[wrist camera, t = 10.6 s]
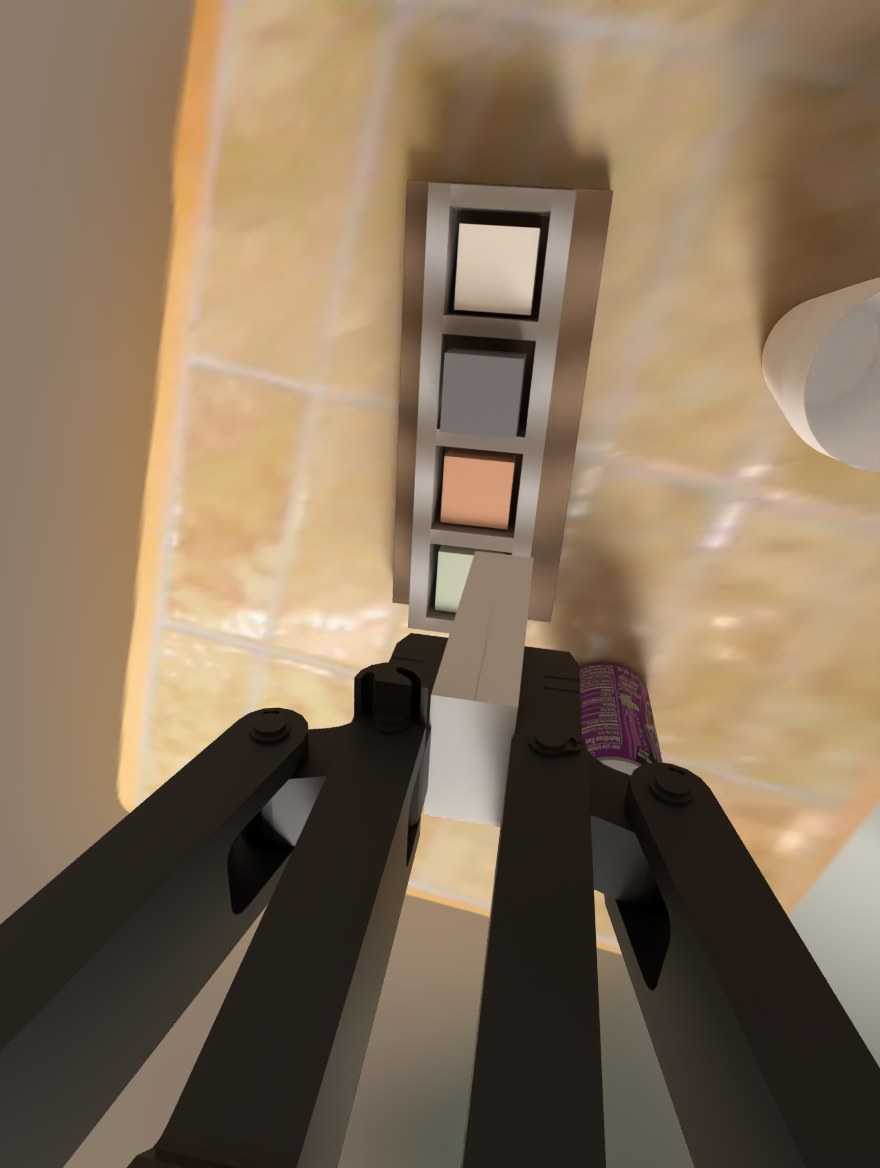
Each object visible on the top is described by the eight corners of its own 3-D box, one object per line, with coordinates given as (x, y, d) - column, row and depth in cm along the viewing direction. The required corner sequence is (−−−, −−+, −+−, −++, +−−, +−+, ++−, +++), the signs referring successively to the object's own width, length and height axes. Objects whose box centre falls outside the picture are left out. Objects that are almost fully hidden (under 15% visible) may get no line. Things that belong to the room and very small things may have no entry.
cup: (717, 404, 45) (766, 447, 34) (780, 255, 41) (858, 251, 30) (852, 442, 45) (945, 497, 34) (929, 296, 41) (1062, 306, 30)
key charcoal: (452, 347, 41) (444, 352, 38) (526, 353, 40) (524, 359, 38) (447, 421, 43) (439, 432, 40) (518, 428, 42) (515, 439, 39)
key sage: (445, 535, 49) (438, 551, 46) (507, 542, 48) (504, 559, 46) (441, 591, 51) (434, 609, 48) (500, 599, 50) (497, 617, 47)
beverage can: (624, 743, 57) (639, 854, 46) (543, 713, 57) (540, 816, 46) (663, 676, 54) (689, 778, 43) (578, 644, 54) (583, 738, 43)
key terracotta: (451, 445, 46) (444, 455, 43) (517, 451, 45) (514, 463, 43) (447, 507, 48) (440, 521, 45) (510, 514, 47) (507, 529, 45)
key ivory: (466, 226, 40) (459, 223, 38) (541, 230, 40) (539, 228, 37) (460, 306, 42) (454, 309, 40) (532, 312, 42) (530, 315, 39)
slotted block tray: (413, 183, 42) (390, 169, 37) (610, 194, 41) (619, 181, 35) (398, 591, 54) (378, 630, 48) (550, 610, 53) (549, 652, 47)
